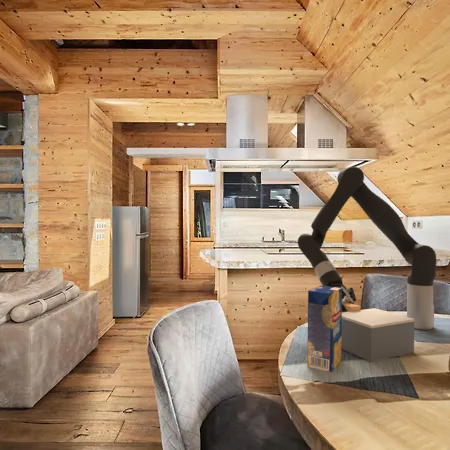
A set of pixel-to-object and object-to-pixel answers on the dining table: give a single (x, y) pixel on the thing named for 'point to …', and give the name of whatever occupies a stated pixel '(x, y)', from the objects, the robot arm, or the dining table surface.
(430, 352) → the dining table surface
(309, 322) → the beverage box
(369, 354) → the carton
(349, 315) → the lid flap
